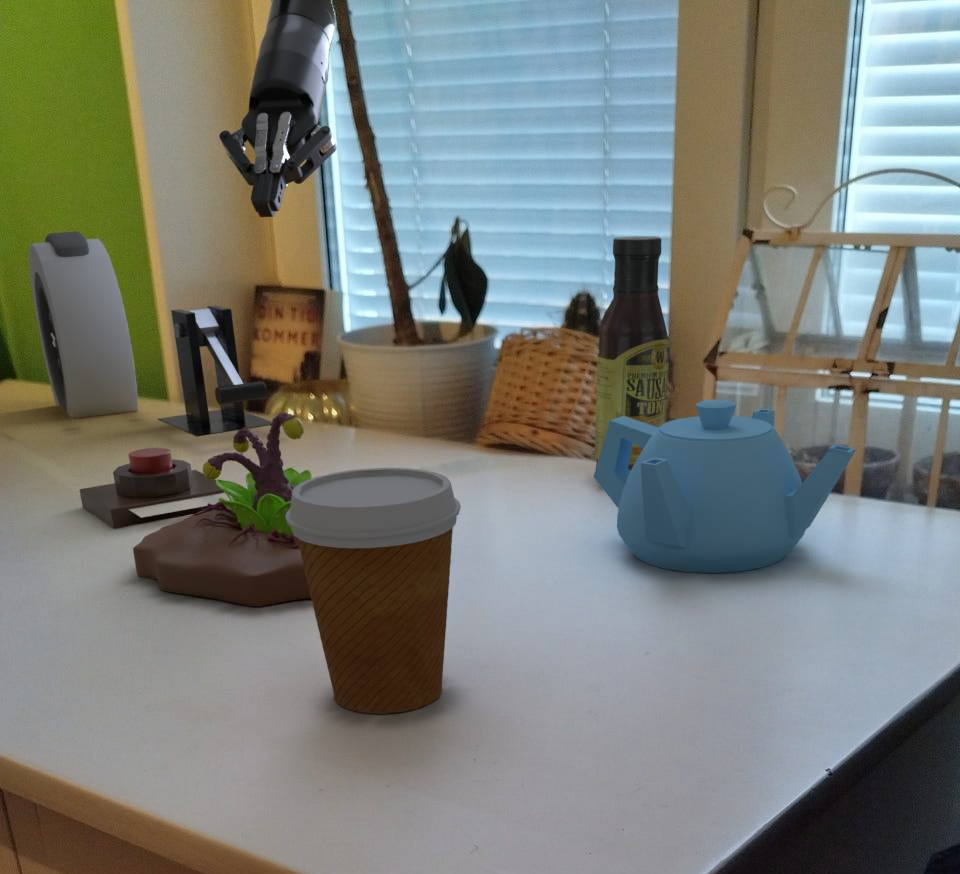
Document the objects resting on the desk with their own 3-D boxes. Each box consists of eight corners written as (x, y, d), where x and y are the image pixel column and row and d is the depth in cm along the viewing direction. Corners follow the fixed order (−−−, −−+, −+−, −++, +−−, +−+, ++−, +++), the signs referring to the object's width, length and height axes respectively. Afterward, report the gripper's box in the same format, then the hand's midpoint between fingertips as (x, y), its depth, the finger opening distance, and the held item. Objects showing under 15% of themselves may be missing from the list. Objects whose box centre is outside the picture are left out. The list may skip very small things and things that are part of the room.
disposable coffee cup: (336, 739, 71) (313, 519, 65) (287, 681, 79) (262, 480, 73) (496, 705, 74) (487, 492, 69) (433, 653, 82) (421, 458, 76)
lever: (265, 404, 136) (268, 385, 134) (220, 411, 134) (222, 392, 132) (219, 325, 141) (221, 306, 139) (175, 331, 139) (176, 311, 137)
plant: (264, 624, 88) (243, 454, 83) (101, 573, 100) (73, 421, 95) (467, 552, 101) (460, 401, 95) (301, 514, 113) (286, 378, 107)
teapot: (771, 515, 107) (781, 376, 101) (849, 568, 94) (865, 411, 88) (588, 532, 105) (588, 390, 99) (642, 589, 92) (645, 429, 86)
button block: (114, 529, 111) (106, 487, 109) (82, 508, 118) (75, 468, 116) (235, 507, 116) (230, 466, 114) (198, 487, 123) (192, 449, 121)
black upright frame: (278, 437, 141) (263, 309, 135) (199, 450, 137) (180, 319, 131) (235, 421, 150) (219, 300, 144) (159, 432, 146) (140, 308, 140)
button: (139, 479, 113) (136, 458, 112) (126, 472, 116) (122, 451, 115) (179, 472, 115) (176, 452, 114) (165, 465, 118) (162, 445, 117)
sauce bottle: (630, 490, 115) (634, 241, 106) (580, 479, 120) (579, 239, 110) (680, 476, 119) (688, 235, 109) (629, 466, 123) (633, 232, 114)
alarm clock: (52, 405, 164) (18, 229, 154) (113, 398, 166) (83, 225, 156) (78, 435, 146) (41, 240, 137) (145, 427, 149) (114, 234, 139)
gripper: (220, 50, 139) (190, 186, 134) (339, 42, 136) (313, 181, 131) (245, 107, 146) (218, 239, 141) (359, 101, 143) (335, 235, 138)
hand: (264, 211), depth 136 cm, fingers closed
